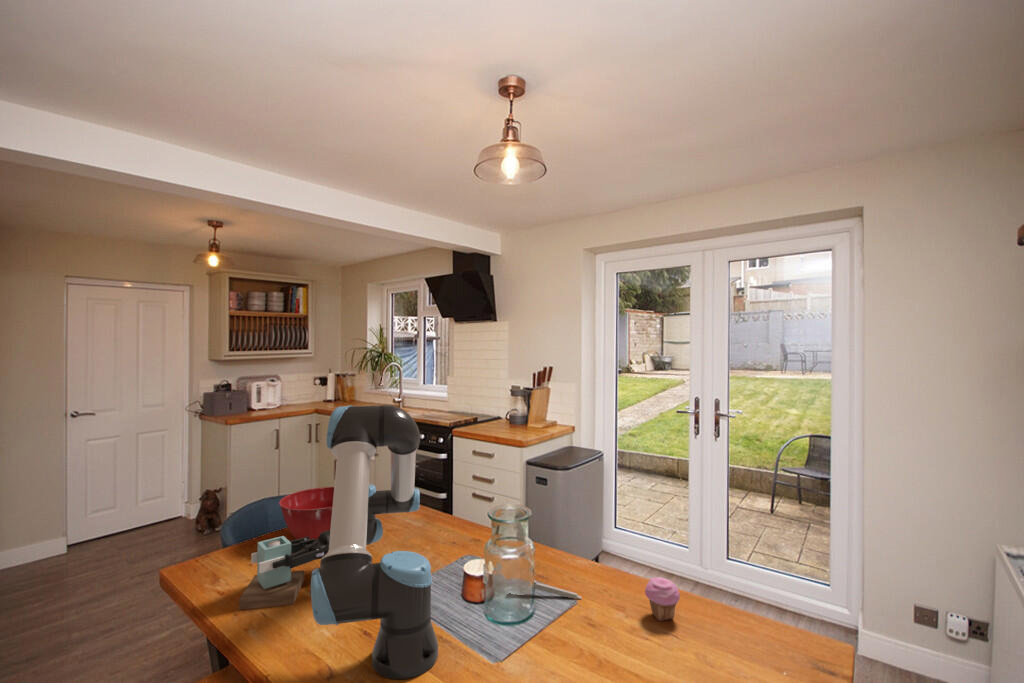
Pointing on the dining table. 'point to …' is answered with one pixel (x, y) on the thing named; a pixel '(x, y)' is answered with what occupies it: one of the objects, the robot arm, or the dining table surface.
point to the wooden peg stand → (271, 591)
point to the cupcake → (662, 597)
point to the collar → (266, 554)
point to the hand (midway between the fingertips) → (255, 563)
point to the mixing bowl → (308, 512)
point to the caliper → (555, 590)
